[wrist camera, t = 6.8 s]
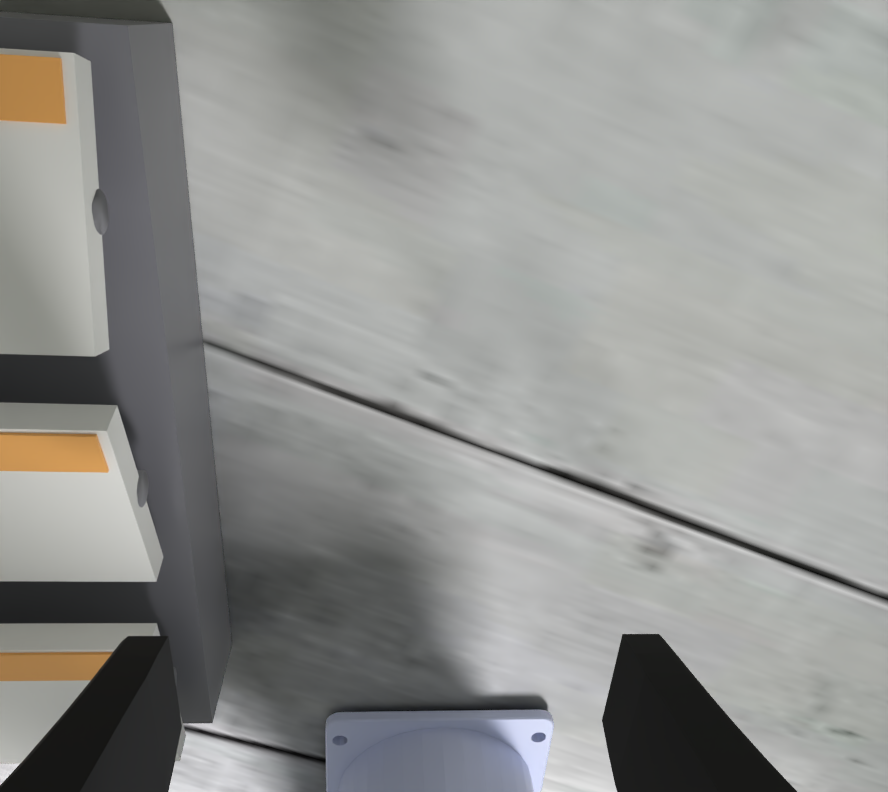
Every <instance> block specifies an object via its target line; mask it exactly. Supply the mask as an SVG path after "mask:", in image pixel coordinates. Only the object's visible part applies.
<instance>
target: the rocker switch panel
mask: <svg viewBox="0 0 888 792" xmlns="http://www.w3.org/2000/svg"><path fill="white" fill-rule="evenodd" d="M0 48H5V49H21V50H36V51H52V52H68V53H75V54H77V55H79V56H81V57H83V58H85V59H87V60H89V61H91V73H92V88H93V104H94V119H95V135H96V150H97V166H98V181H99V189H101V190H102V191H103V193H104V194H105V197H106V200H107V204H108V211H109V221H108V227H107V230H106V232H105V233H104V234H103V235H102V243H103V258H104V274H105V289H106V305H107V320H108V336H109V350H107V351H105V352H103V353H101V354H99V355H97V356H95V357H93V356H59V355H24V354H0V402H4V403H47V404H90V405H117V406H118V410H119V413H120V416H121V419H122V423H123V426H124V429H125V432H126V436H127V439H128V442H129V445H130V449H131V452H132V455H133V459H134V462H135V465H136V468H137V470H145V471H146V473H147V475H148V483H149V488H148V496H147V500H146V501H147V504H148V508H149V511H150V514H151V517H152V521H153V524H154V527H155V530H156V534H157V537H158V540H159V544H160V547H161V550H162V553H163V560H162V564H161V567H160V571H159V574H158V578H157V582H66V581H0V624H18V623H157V626H158V630H159V634H160V636H169V643H170V650H171V656H172V663H173V667H175V668H176V671H177V683H176V690H177V696H178V703H179V710H180V714H181V718H182V722H183V723H212V722H213V718H214V714H215V710H216V706H217V702H218V698H219V694H220V690H221V686H222V682H223V678H224V674H225V670H226V666H227V662H228V658H229V654H230V650H231V646H232V638H231V628H230V618H229V607H228V597H227V586H226V576H225V566H224V555H223V545H222V534H221V524H220V514H219V503H218V493H217V482H216V472H215V462H214V451H213V441H212V430H211V420H210V410H209V399H208V389H207V378H206V368H205V358H204V347H203V337H202V326H201V316H200V306H199V295H198V285H197V274H196V264H195V254H194V243H193V233H192V222H191V212H190V202H189V191H188V181H187V170H186V160H185V150H184V139H183V129H182V118H181V108H180V98H179V87H178V77H177V66H176V56H175V46H174V35H173V25H172V23H164V22H149V21H135V20H120V19H105V18H91V17H76V16H61V15H47V14H32V13H17V12H3V11H0Z"/></svg>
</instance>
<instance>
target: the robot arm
mask: <svg viewBox="0 0 888 792" xmlns="http://www.w3.org/2000/svg"><path fill="white" fill-rule="evenodd" d="M602 722H603V727H604V732H605V737H606V742H607V748H608V753H609V758H610V762H611V767H612V771H613V776H614V781H615V785H616V788H617V792H797V791H796V790H795V789H794V788H793V787H792V786H791V785H790V784H789V783H788V782H787V781H786V780H785V779H784V777H783V776H782V775H781V774H780V773H779V772H778V771H777V770H776V769H775V768H774V767H773V766H772V765H771V764H770V762H769V761H768V760H767V759H766V758H765V757H764V756H763V755H762V754H761V753H760V752H759V750H758V749H757V748H756V747H755V746H754V745H753V744H752V743H751V741H750V740H749V739H748V738H747V737H746V736H745V735H744V734H743V733H742V731H741V730H740V729H739V728H738V727H737V726H736V725H735V724H734V722H733V721H732V720H731V719H730V718H729V717H728V716H727V714H726V713H725V712H724V711H723V710H722V709H721V707H720V706H719V705H718V704H717V703H716V701H715V700H714V699H713V698H712V697H711V696H710V694H709V693H708V692H707V691H706V690H705V688H704V687H703V686H702V685H701V684H700V682H699V681H698V680H697V679H696V678H695V676H694V675H693V674H692V673H691V672H690V670H689V669H688V668H687V667H686V666H685V664H684V663H683V662H682V661H681V660H680V658H679V657H678V656H677V655H676V653H675V652H674V651H673V650H672V649H671V647H670V646H669V645H668V644H667V643H666V641H665V640H664V639H663V638H662V637H661V636H660V635H659V634H623V635H622V639H621V643H620V648H619V652H618V656H617V660H616V664H615V669H614V673H613V677H612V681H611V685H610V690H609V694H608V698H607V702H606V706H605V711H604V715H603V719H602ZM181 729H182V723H181V716H180V710H179V703H178V696H177V690H176V683H175V676H174V670H173V663H172V656H171V650H170V643H169V636H127V637H126V638H125V639H124V640H123V641H121V643H120V644H119V645H118V646H117V648H116V649H115V650H114V652H113V653H112V654H111V655H110V657H109V658H108V659H107V661H106V662H105V663H104V664H103V666H102V667H101V668H100V669H99V671H98V672H97V673H96V675H95V676H94V677H93V678H92V680H91V681H90V682H89V683H88V685H87V686H86V687H85V688H84V690H83V691H82V692H81V693H80V694H79V696H78V697H77V698H76V699H75V700H74V702H73V703H72V704H71V705H70V707H69V708H68V709H67V710H66V711H65V713H64V714H63V715H62V716H61V717H60V719H59V720H58V721H57V722H56V723H55V724H54V726H53V727H52V728H51V729H50V730H49V731H48V732H47V734H46V735H45V736H44V737H43V738H42V739H41V741H40V742H39V743H38V744H37V745H36V746H35V748H34V749H33V750H32V751H31V752H30V753H29V754H28V756H27V757H26V758H25V759H24V760H23V761H22V762H21V764H20V765H19V766H18V767H17V768H16V769H15V770H14V771H13V772H12V773H11V775H10V776H9V777H8V778H7V779H6V780H5V781H4V782H3V783H2V784H1V785H0V792H168V790H169V785H170V781H171V776H172V772H173V767H174V763H175V758H176V753H177V748H178V743H179V738H180V733H181ZM553 729H554V722H553V718H552V715H551V714H550V712H548V711H546V710H462V711H383V712H337V713H334V714H332V715H330V716H329V717H328V718H327V720H326V727H325V744H326V792H541V790H542V785H543V780H544V775H545V770H546V765H547V759H548V754H549V749H550V744H551V739H552V734H553ZM339 735H341V736H339Z"/></svg>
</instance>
